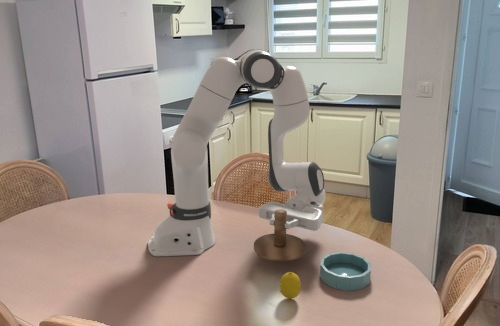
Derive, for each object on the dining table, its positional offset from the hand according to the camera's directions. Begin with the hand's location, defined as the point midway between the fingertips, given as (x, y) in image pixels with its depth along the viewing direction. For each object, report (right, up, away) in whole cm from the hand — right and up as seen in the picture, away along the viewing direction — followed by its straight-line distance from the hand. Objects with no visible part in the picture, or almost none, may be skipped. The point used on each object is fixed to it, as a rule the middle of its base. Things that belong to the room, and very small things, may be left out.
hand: (279, 224), depth 131 cm
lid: (0, -7, +3) cm, 8 cm away
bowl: (+19, -14, -4) cm, 24 cm away
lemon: (+2, -18, -14) cm, 23 cm away
